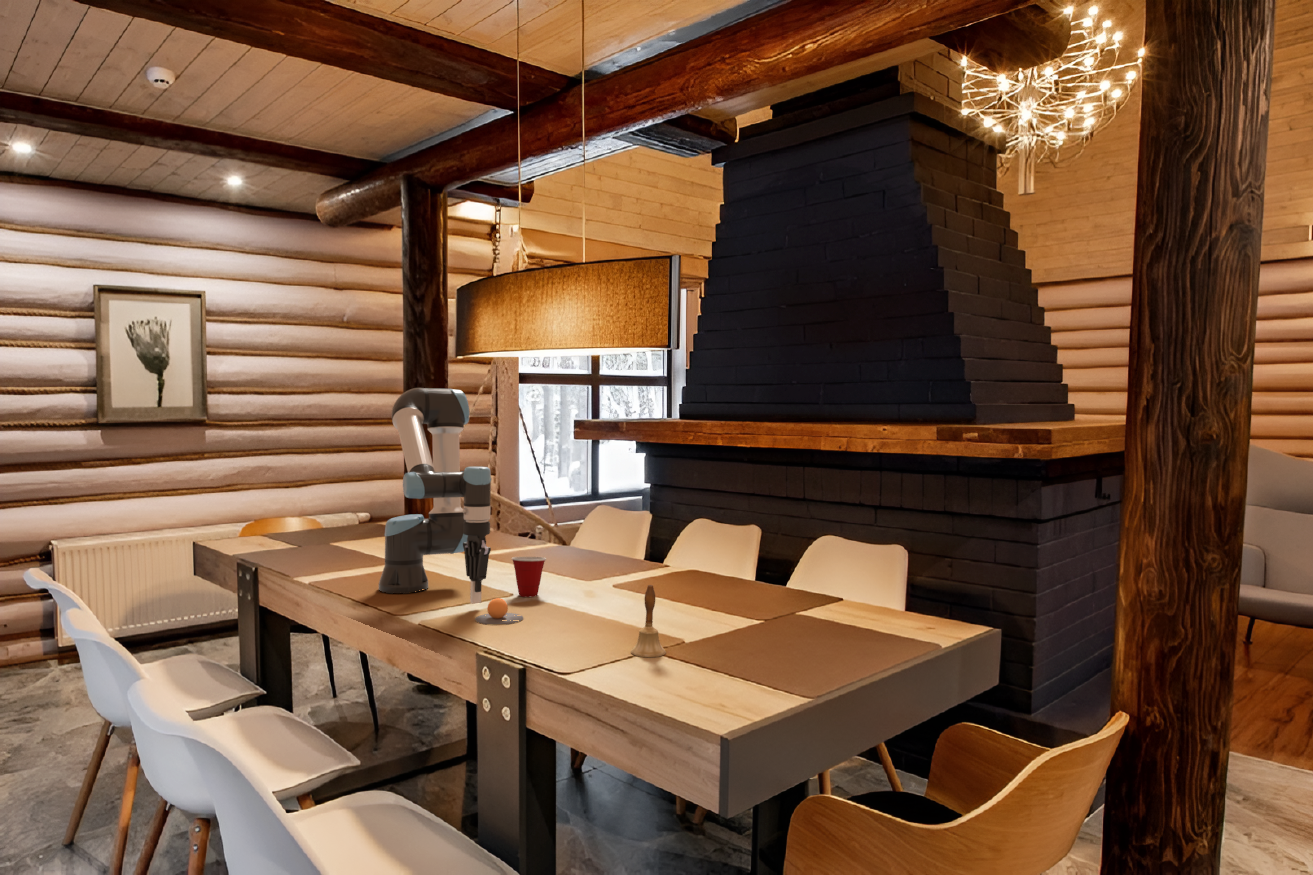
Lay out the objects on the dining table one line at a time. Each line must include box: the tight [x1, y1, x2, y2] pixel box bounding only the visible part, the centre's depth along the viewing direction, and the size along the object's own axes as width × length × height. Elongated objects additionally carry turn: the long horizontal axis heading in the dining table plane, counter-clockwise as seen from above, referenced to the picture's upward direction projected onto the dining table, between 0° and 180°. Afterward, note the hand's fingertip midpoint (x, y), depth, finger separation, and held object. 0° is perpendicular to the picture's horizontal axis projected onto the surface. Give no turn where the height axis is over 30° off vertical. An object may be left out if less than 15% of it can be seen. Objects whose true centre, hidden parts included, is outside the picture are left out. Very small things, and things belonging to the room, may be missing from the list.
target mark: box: [474, 612, 524, 625], centre depth 221 cm, size 13×13×1 cm
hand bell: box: [630, 584, 667, 658], centre depth 191 cm, size 8×8×16 cm
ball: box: [486, 597, 509, 619], centre depth 222 cm, size 6×6×6 cm
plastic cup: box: [511, 556, 547, 598], centre depth 252 cm, size 11×11×12 cm
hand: (475, 602), depth 232 cm, fingers closed
